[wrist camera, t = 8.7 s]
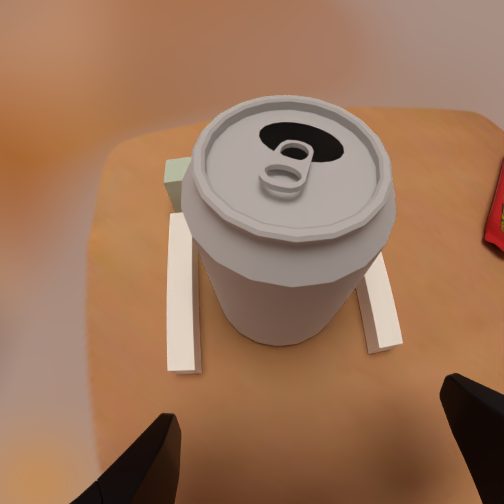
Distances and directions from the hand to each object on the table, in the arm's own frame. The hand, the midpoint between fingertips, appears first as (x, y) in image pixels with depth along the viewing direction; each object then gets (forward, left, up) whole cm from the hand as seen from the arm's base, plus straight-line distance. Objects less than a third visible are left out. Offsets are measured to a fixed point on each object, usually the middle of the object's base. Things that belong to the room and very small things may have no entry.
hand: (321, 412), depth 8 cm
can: (+7, 0, -9) cm, 11 cm away
